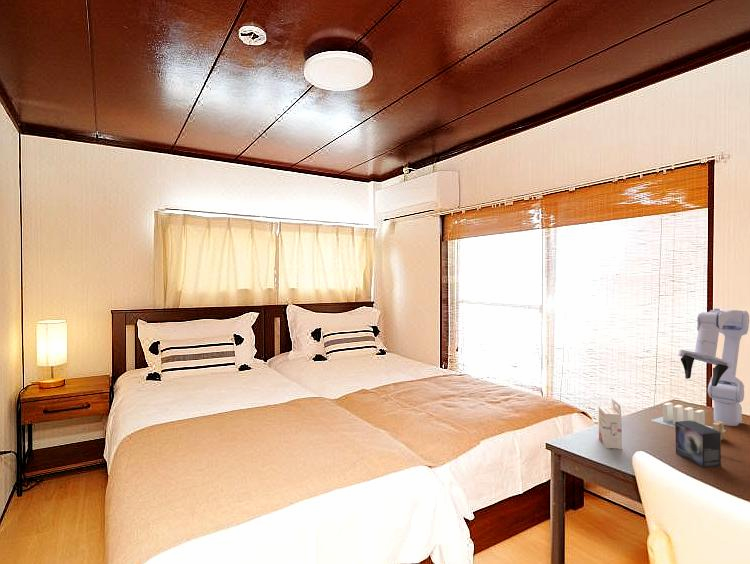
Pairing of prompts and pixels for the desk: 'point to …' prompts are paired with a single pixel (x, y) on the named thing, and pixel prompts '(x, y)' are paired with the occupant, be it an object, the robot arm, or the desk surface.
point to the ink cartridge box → (610, 426)
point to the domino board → (670, 423)
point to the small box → (698, 443)
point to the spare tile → (719, 428)
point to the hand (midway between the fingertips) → (700, 381)
